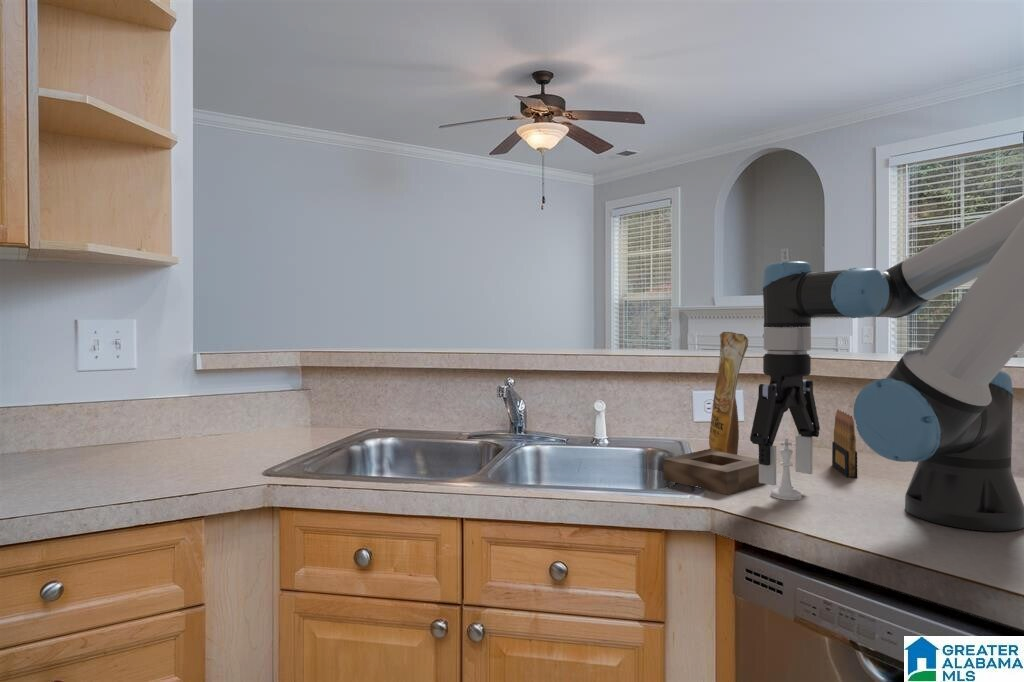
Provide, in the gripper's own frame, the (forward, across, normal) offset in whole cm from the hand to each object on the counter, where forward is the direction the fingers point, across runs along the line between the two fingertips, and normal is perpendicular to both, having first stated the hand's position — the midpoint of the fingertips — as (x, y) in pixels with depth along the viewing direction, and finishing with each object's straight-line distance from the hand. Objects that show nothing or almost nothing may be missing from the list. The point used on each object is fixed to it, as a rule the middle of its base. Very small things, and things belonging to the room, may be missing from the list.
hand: (786, 478), depth 109 cm
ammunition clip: (+3, -26, -2) cm, 26 cm away
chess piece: (+3, 0, 0) cm, 3 cm away
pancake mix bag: (+3, -23, -27) cm, 36 cm away
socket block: (+3, 0, -14) cm, 14 cm away
